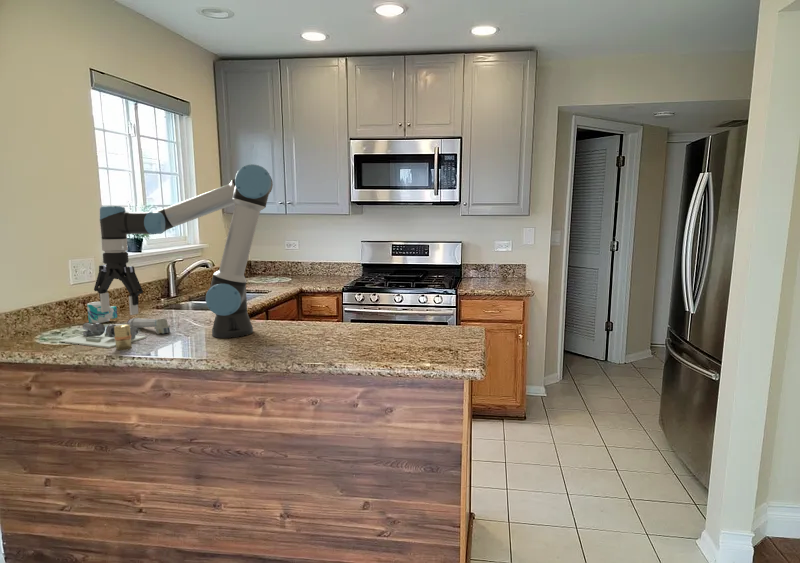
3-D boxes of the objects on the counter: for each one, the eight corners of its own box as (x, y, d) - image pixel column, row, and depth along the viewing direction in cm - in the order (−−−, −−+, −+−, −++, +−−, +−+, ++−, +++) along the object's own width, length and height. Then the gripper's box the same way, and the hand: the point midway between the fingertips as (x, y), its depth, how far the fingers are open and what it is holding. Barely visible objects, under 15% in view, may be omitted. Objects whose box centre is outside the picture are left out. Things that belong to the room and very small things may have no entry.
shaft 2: (106, 340, 180) (105, 326, 180) (115, 337, 185) (114, 323, 184) (132, 340, 179) (131, 326, 178) (140, 337, 184) (139, 323, 183)
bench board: (145, 338, 185) (145, 334, 185) (109, 348, 171) (109, 343, 171) (97, 333, 195) (96, 329, 194) (59, 342, 181) (58, 338, 181)
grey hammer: (137, 317, 207) (171, 314, 194) (139, 332, 208) (174, 331, 194) (124, 319, 203) (158, 317, 189) (127, 335, 203) (161, 334, 190)
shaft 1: (105, 336, 187) (104, 322, 186) (92, 338, 183) (90, 324, 182) (94, 332, 193) (92, 319, 192) (80, 335, 189) (79, 321, 188)
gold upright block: (135, 347, 172) (133, 325, 171) (122, 350, 168) (120, 328, 167) (125, 346, 174) (123, 324, 173) (112, 349, 170) (110, 327, 169)
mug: (98, 319, 223) (96, 301, 221) (122, 319, 221) (120, 301, 220) (84, 323, 214) (82, 304, 213) (109, 323, 213) (107, 304, 212)
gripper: (151, 251, 166) (155, 313, 168) (99, 250, 175) (104, 308, 177) (132, 253, 159) (137, 317, 161) (79, 251, 168) (84, 312, 170)
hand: (119, 313), depth 169 cm, fingers open, 13 cm apart
